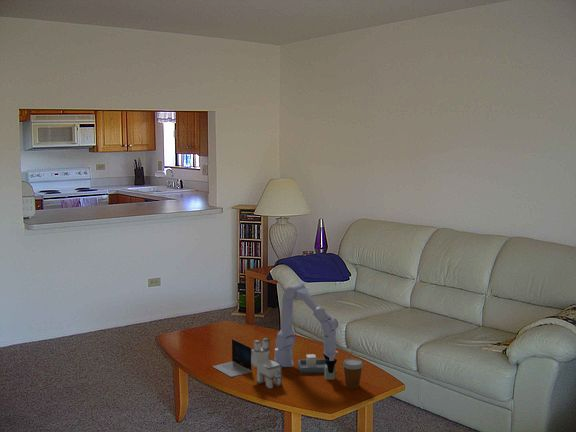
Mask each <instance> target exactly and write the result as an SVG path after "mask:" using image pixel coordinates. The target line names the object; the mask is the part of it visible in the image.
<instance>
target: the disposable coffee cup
mask: <svg viewBox="0 0 576 432" xmlns="http://www.w3.org/2000/svg"><path fill="white" fill-rule="evenodd" d="M342 366H343V371H344V381H345V382H344V383H345V386H346V388H348V389H350V390H351V389H353V390H354V389H358V388H359V387H360V385H361V384H360V383H361V376H362V375H361V374H362V369H363V366H364V364H363V362H362V360H360V359H357V358H346V359H344V361H343V363H342Z"/></svg>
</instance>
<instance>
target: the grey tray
mask: <svg viewBox="0 0 576 432" xmlns="http://www.w3.org/2000/svg"><path fill="white" fill-rule="evenodd" d="M325 364H326V361H325V358H316V367H306V359H298V360H297V366H298V370H299V374H300V375H303V374H304V375H305V374H308V375H309V374H324V370H325Z"/></svg>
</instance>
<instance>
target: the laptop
mask: <svg viewBox="0 0 576 432" xmlns="http://www.w3.org/2000/svg"><path fill="white" fill-rule="evenodd" d="M251 350H252V347H250V345H248V344H244V343H242V342H240V341H238V340H236V339H234V338H231V357H232V359H231V361H229V362H228V361H227V362H225V363H220V364H217V365H216V364H215V365H212V368H213V369H216V370H217V371H219V372H221V373H223V374H224V375H226V376H228V377H230V378H232V377H233V378H235V377H238V376H242V375H247V374H250V373H252V370H253V367H252V366H253V365H251Z"/></svg>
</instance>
